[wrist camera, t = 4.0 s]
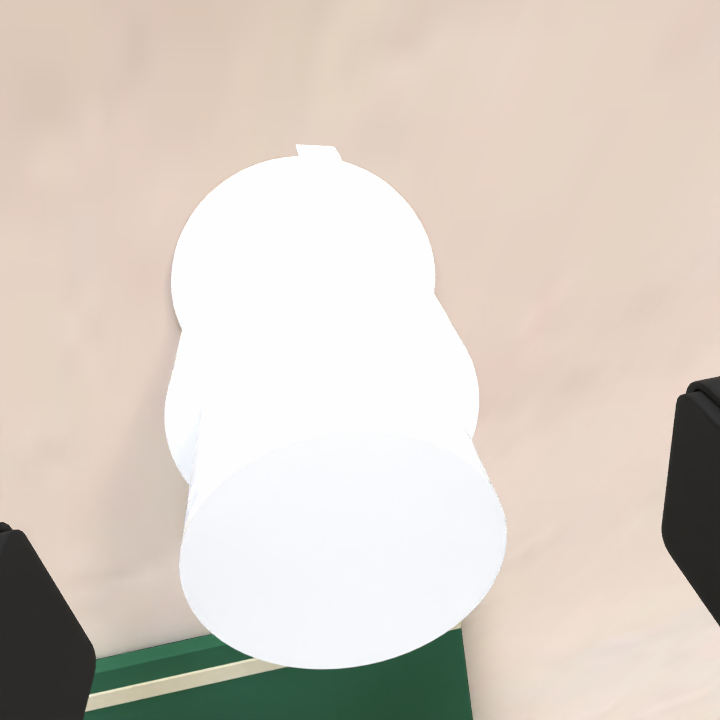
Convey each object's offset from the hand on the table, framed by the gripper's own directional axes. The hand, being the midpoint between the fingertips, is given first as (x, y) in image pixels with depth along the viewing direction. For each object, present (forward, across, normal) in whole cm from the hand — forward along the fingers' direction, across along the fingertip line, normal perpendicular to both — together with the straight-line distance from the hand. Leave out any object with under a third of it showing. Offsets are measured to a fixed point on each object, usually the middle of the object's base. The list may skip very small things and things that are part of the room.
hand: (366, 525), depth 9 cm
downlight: (+10, 0, 0) cm, 10 cm away
